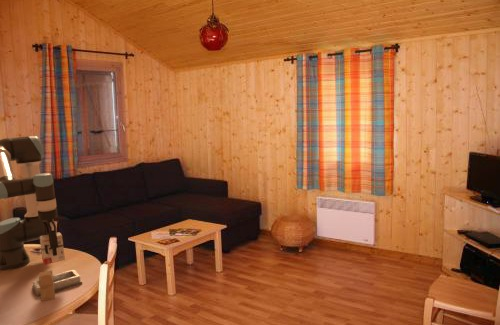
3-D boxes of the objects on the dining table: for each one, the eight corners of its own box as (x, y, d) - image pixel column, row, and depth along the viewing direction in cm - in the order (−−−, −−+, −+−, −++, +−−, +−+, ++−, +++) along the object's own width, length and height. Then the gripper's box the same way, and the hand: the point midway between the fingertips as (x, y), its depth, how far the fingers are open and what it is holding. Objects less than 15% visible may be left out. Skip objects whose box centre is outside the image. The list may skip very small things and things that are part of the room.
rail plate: (32, 287, 183) (31, 280, 183) (74, 275, 194) (73, 268, 194) (38, 297, 174) (36, 289, 173) (82, 283, 185) (81, 276, 184)
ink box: (44, 265, 178) (40, 238, 176) (42, 262, 182) (39, 236, 180) (65, 260, 182) (62, 234, 181) (63, 257, 186) (60, 231, 185)
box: (41, 301, 170) (37, 276, 168) (41, 297, 173) (38, 272, 172) (55, 298, 172) (51, 273, 170) (55, 294, 176) (52, 269, 174)
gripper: (33, 207, 184) (40, 257, 187) (42, 214, 169) (49, 268, 173) (51, 204, 188) (58, 252, 191) (61, 211, 174) (68, 263, 177)
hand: (54, 260), depth 182 cm, fingers closed on ink box, 5 cm apart
